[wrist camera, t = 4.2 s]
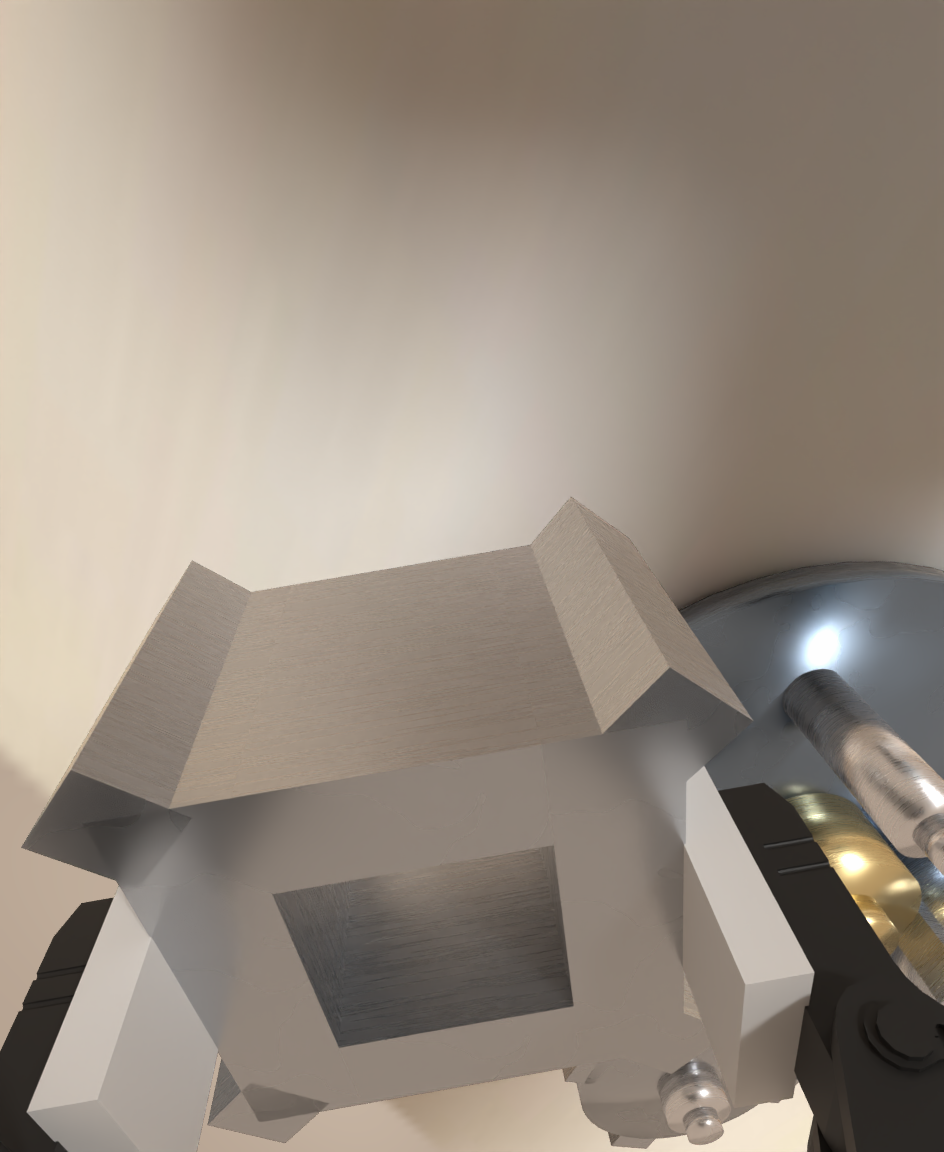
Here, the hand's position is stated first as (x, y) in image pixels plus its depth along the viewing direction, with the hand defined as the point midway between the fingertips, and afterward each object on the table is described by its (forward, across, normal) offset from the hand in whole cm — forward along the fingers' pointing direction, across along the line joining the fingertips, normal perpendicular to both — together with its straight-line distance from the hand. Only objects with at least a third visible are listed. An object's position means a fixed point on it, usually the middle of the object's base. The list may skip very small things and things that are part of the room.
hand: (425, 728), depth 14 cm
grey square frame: (0, 0, 0) cm, 0 cm away
